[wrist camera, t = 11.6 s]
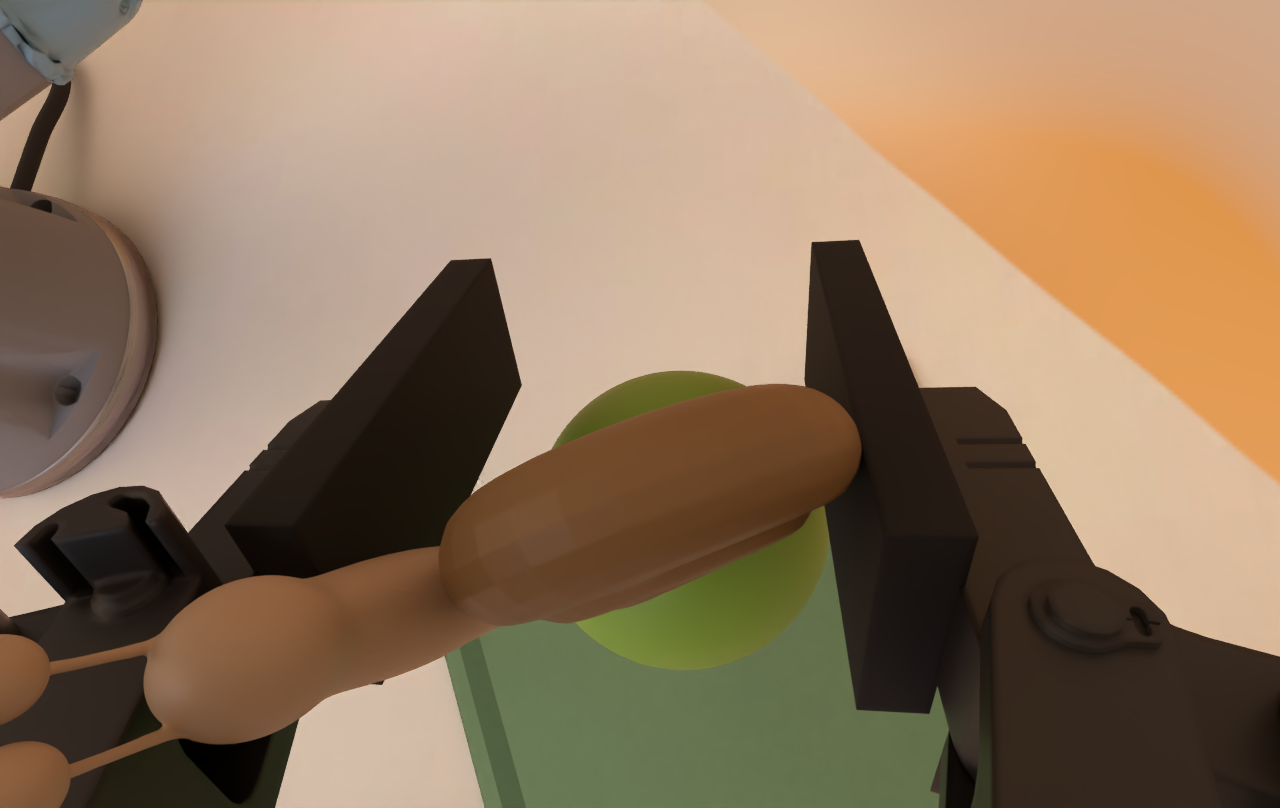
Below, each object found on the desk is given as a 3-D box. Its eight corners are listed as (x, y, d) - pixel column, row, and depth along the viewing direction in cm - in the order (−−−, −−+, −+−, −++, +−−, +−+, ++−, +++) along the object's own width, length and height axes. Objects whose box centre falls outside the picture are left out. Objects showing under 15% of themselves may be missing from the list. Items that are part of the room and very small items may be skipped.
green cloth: (417, 537, 29) (413, 537, 29) (899, 362, 27) (902, 360, 27) (521, 930, 26) (518, 937, 25) (1077, 762, 24) (1082, 766, 24)
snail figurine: (506, 471, 16) (-153, 343, 4) (751, 361, 15) (758, -124, 4) (589, 694, 15) (-15, 1359, 3) (857, 583, 14) (1347, 875, 3)
